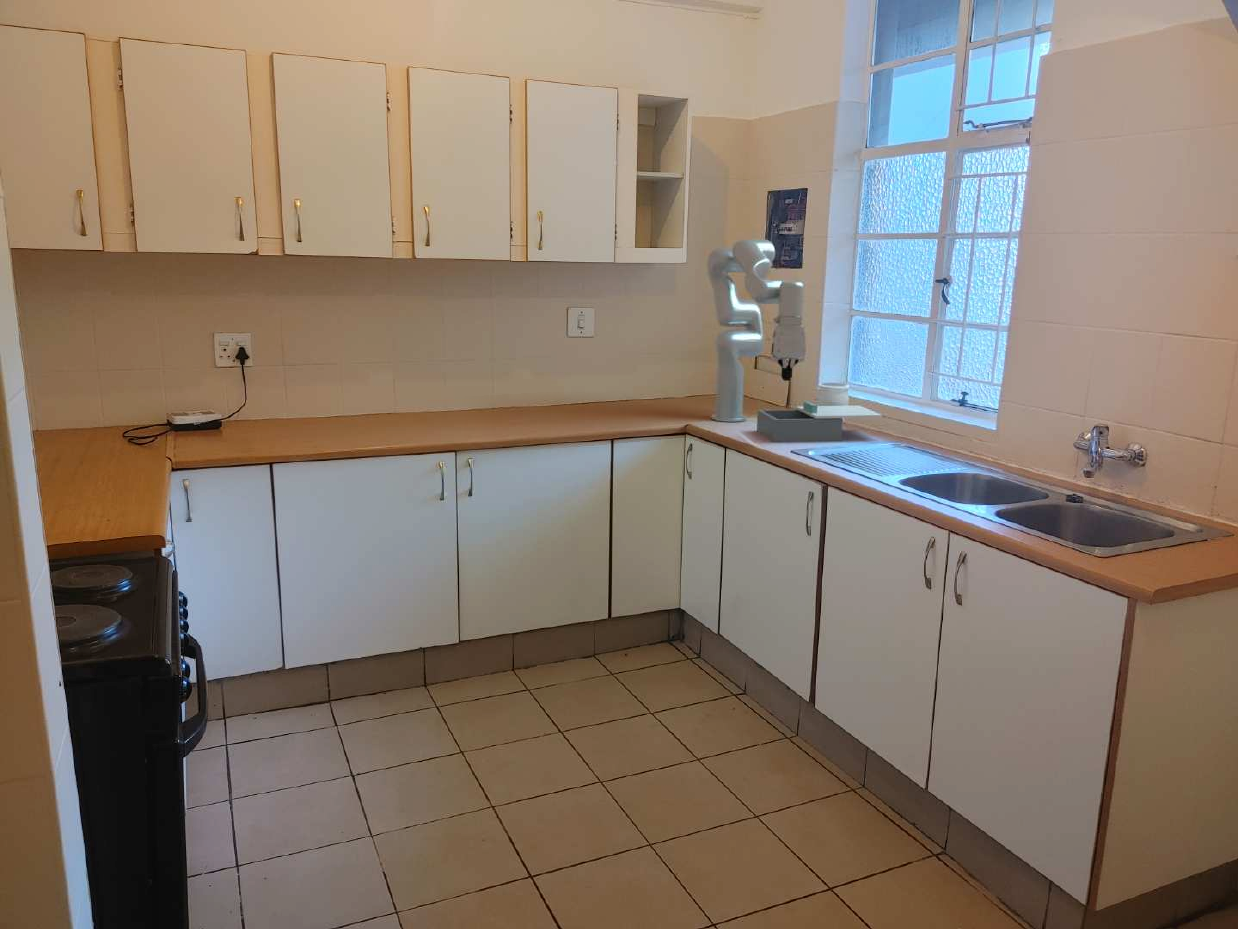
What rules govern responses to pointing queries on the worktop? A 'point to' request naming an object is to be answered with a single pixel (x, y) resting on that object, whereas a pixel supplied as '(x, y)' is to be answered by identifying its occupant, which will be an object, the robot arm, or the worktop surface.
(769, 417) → the storage box
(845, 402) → the jar
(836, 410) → the lid
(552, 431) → the worktop surface
